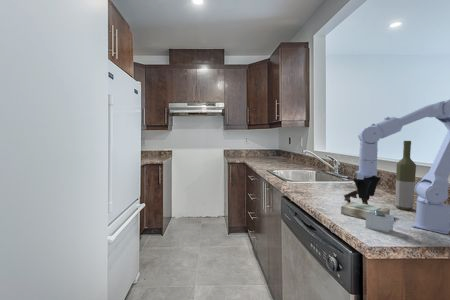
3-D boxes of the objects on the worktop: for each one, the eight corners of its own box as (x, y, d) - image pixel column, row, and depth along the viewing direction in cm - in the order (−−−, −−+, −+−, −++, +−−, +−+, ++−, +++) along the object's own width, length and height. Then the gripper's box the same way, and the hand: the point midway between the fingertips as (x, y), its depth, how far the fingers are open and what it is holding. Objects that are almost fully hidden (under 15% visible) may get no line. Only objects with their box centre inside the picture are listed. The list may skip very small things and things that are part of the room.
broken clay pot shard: (360, 210, 111) (351, 192, 114) (346, 214, 119) (337, 197, 122) (379, 201, 116) (369, 184, 118) (364, 205, 124) (355, 189, 126)
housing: (392, 230, 85) (393, 212, 85) (389, 233, 82) (389, 215, 82) (369, 225, 91) (370, 208, 90) (365, 228, 87) (366, 210, 87)
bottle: (417, 211, 109) (420, 141, 108) (398, 210, 110) (402, 140, 109) (408, 207, 116) (412, 140, 115) (391, 206, 117) (394, 140, 116)
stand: (389, 216, 102) (389, 207, 101) (379, 222, 93) (380, 213, 93) (352, 208, 112) (352, 201, 112) (340, 213, 104) (341, 205, 103)
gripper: (363, 158, 101) (362, 192, 102) (348, 160, 92) (347, 197, 92) (384, 160, 96) (382, 195, 97) (370, 161, 86) (368, 201, 87)
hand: (366, 197), depth 94 cm, fingers open, 7 cm apart
